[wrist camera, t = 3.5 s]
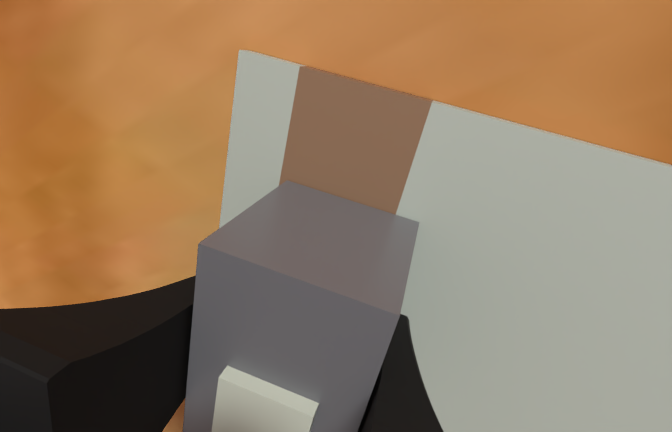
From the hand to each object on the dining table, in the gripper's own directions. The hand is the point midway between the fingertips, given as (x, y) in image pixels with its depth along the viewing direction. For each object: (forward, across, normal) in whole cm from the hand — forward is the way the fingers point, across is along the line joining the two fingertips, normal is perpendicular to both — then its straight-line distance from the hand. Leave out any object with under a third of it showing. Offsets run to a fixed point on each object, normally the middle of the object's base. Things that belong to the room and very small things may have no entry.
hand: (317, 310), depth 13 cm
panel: (+2, -4, +4) cm, 6 cm away
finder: (+1, 0, 0) cm, 1 cm away
